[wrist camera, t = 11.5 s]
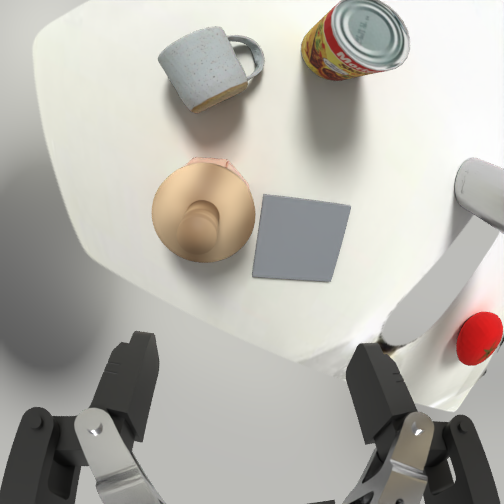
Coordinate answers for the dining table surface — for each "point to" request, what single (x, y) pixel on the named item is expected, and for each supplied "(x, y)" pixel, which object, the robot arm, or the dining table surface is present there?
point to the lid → (203, 212)
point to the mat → (299, 238)
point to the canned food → (356, 41)
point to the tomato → (479, 338)
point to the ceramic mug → (207, 67)
